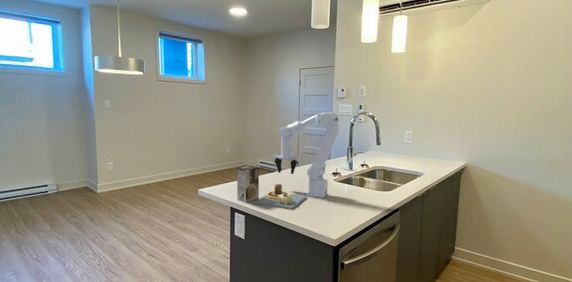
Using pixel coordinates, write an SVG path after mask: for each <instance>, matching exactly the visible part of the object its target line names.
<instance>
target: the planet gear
mask: <svg viewBox="0 0 572 282" xmlns="http://www.w3.org/2000/svg"><path fill="white" fill-rule="evenodd" d="M273 191H274V192H272V193H270V196H273V197H277V195H281V194H283V193H286V192H287V191H285V192H282V191H283V185H282V184H278V183H277V184H274V190H273Z"/></svg>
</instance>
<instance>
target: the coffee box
mask: <svg viewBox="0 0 572 282" xmlns="http://www.w3.org/2000/svg"><path fill="white" fill-rule="evenodd" d="M259 168H260V167H259V166H255V165H252V164H251V165H245V166H241V167H237V168H236V171H237V173H236V176H237V177H236V179H237V181H236V182H237V190H236V191H237V192H236V194H237V195H236V196H237V201H241V202H243V203H248V201H249V202H251V201H254V200H258V199H260V198H259V197H260V196H259V194H260V193H259V191H260V187H259V185H260V184H259V183H260V182H259V180H260V178H259V176H260V173H259Z"/></svg>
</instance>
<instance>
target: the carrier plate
mask: <svg viewBox="0 0 572 282" xmlns="http://www.w3.org/2000/svg"><path fill="white" fill-rule="evenodd" d="M274 191H275V190H272V191H268V192H266V195H263V197H260V198H258V199H256V200H255V201H254V204H255V203H256V204H255V205H261V204H262V206H267V205H269V206H268V207H273V206H274V208H279V207H280V209H285V210H294V209H295V208H296V207H298V205H300V204H301V203H302V202H303V201H305V200H306V199H307V196H306V195H300V194H295V193H293V194H292V193H290V192H288V191H284V190H282V192H286V193H283V194H281V195H277V197H273V196H270V193H272V192H274Z"/></svg>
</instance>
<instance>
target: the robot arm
mask: <svg viewBox="0 0 572 282" xmlns="http://www.w3.org/2000/svg"><path fill="white" fill-rule="evenodd" d="M316 123H317V124H321V125H322V126H323V127H324V129H325V130H326V135H325V137H324V140H323V142H322V144H321V146H320V149H319V151H318V153H317V156H316V159H315V160H314V161H313V162H312V164H311V166H310V167H308V169H307V173H306V174H307V177H308V193H306V194H305V196H306V197H312V198H313V197H315V198H322V199H324V198H325V197H326V196H327V195H328V184H329V183H328V180H327V179H326V178H324V175H325V173H326V165H327V164H326V162H327V160H328V157H329V155H330V153H331V151H332V149H333V147H334V144H335V142H336V139H337V137H338V135H339V132H340V131H339V130H340V129H339V117H338V115H337V114H336V113H335V112H334V111H329V112H325V111H324V112H322V113H321V112H320V113H317V114H315V115H313V116H311V117H310V118H309V117H308V118H307V119H305V120H303V121H302V120H294V122H292V123H291V124H290V123H289V124H287V126H282V127H281V128H279V132H278V133H279V136H280V139H281V143H280V144H281V145H280V155H273V158H272V159H273V160H274V163H275V165H276V168H277V172H278V173H279V174H280V173H282V161H283V160H284V161H290V174H291V175H294V174H295V173H294V172H295V169H296V167H297V164H298V162H299V161H300V156H299V157H298V156H292V152H293V151H292V149H293V146H292V145H293V136H294V135H297V134H299V133H301V132H303V131H304V130H305V128H307V127H309V126H312V125H314V124H316Z"/></svg>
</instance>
